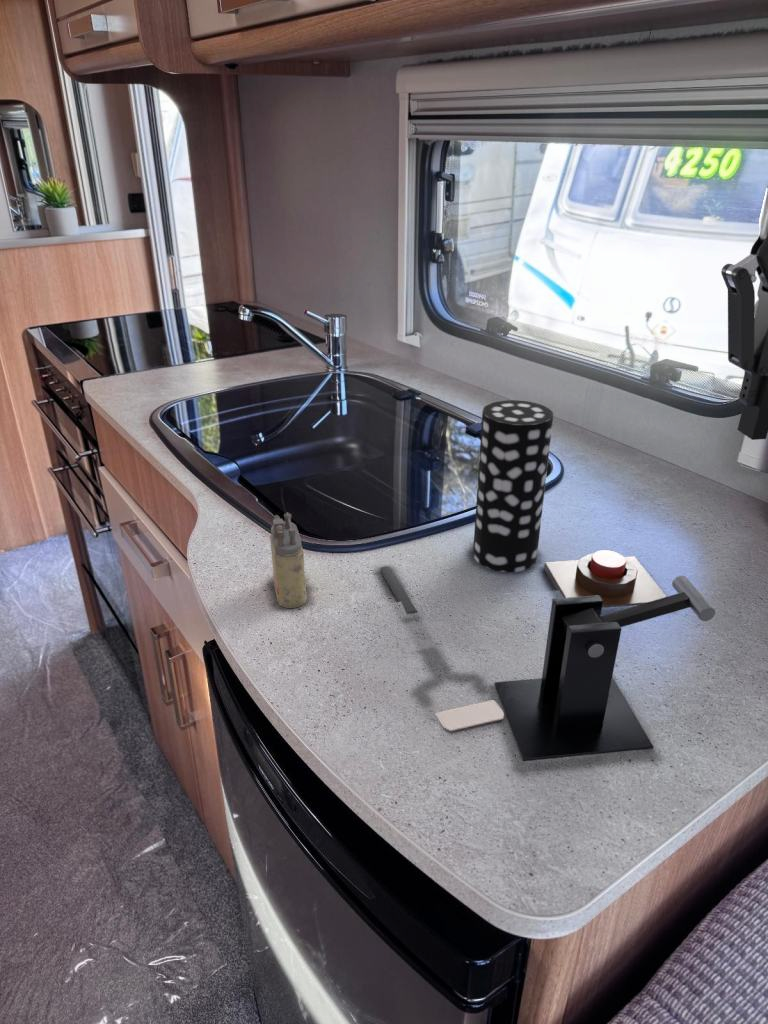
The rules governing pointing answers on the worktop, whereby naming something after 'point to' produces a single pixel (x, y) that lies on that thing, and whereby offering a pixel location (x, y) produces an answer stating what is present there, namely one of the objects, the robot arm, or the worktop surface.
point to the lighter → (288, 563)
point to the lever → (649, 608)
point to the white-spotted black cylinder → (511, 484)
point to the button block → (604, 582)
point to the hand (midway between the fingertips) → (751, 434)
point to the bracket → (573, 693)
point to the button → (608, 564)
